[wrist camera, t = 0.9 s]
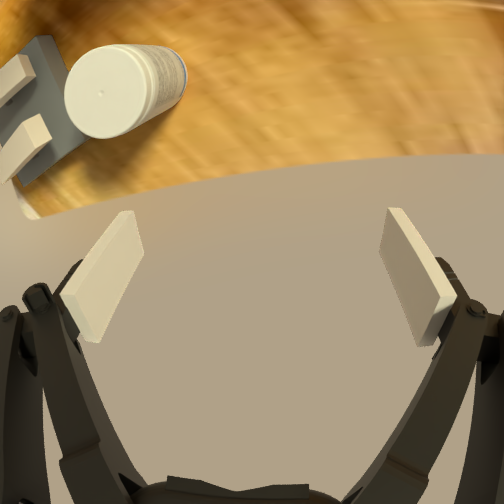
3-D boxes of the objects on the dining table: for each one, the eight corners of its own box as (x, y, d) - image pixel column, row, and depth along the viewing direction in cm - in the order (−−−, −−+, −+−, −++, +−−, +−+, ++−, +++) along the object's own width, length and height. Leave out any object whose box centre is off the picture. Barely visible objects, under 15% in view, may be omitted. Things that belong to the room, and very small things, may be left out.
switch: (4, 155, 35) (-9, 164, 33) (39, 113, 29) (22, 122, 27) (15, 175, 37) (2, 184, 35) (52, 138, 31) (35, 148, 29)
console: (-5, 93, 34) (-31, 102, 29) (51, 35, 30) (24, 36, 25) (36, 178, 44) (13, 195, 38) (98, 133, 40) (75, 145, 34)
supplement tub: (149, 33, 32) (93, 26, 19) (204, 70, 35) (169, 74, 23) (111, 90, 36) (48, 110, 24) (161, 126, 39) (114, 159, 27)
